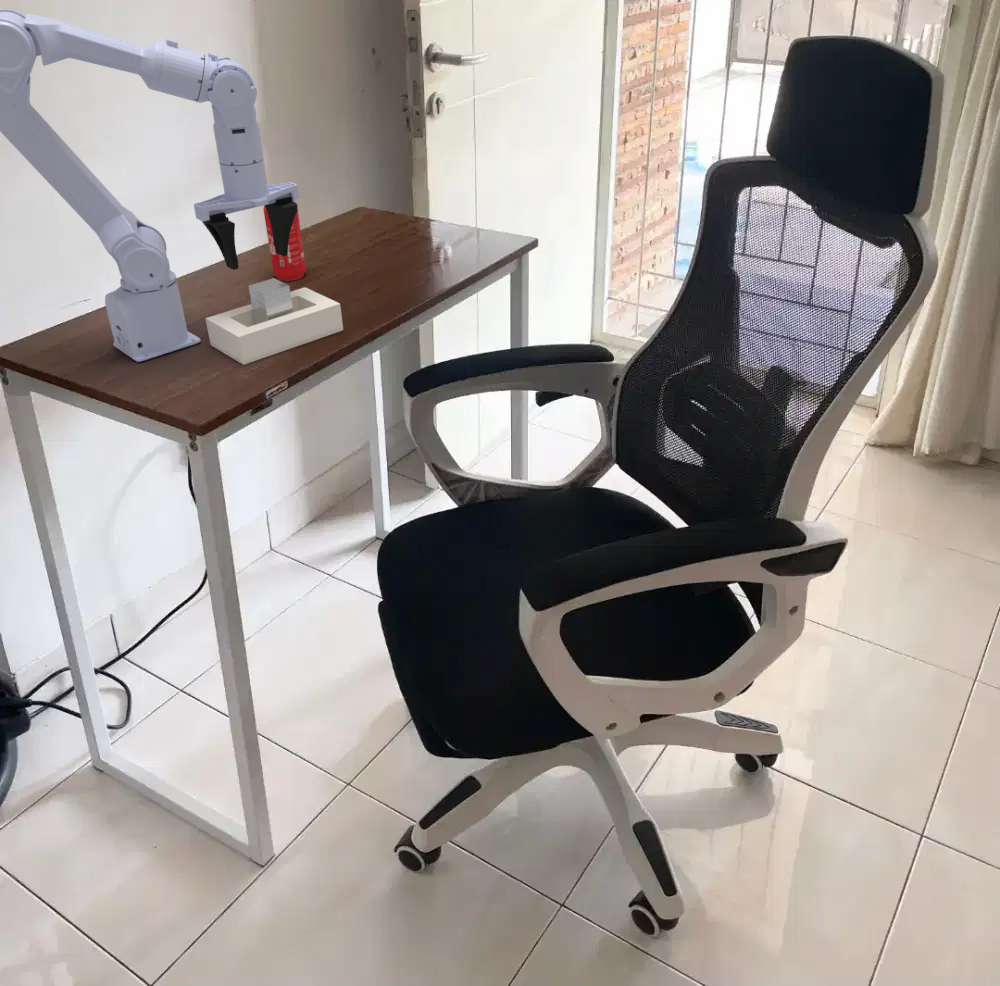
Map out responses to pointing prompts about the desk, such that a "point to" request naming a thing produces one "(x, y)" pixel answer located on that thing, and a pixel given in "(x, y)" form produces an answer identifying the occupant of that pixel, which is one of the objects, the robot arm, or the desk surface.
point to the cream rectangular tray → (274, 327)
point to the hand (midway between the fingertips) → (257, 260)
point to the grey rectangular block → (270, 300)
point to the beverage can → (294, 260)
